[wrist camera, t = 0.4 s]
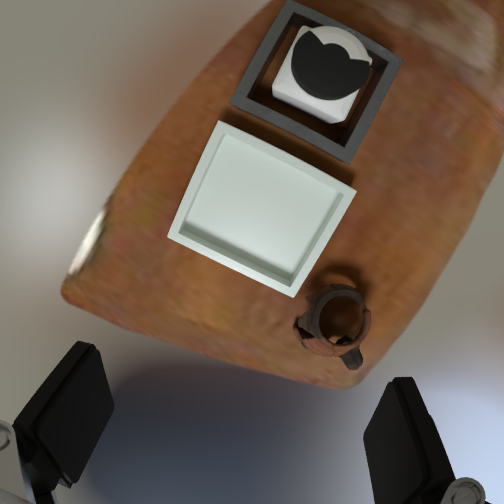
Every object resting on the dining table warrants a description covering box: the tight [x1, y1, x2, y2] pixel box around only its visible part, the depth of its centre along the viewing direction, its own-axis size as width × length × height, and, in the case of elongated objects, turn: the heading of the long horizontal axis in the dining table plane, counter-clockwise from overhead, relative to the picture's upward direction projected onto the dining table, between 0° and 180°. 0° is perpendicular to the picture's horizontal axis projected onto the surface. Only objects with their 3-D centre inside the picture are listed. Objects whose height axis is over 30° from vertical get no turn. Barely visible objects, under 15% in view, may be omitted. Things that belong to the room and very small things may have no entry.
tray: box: [167, 121, 357, 298], centre depth 35 cm, size 14×16×3 cm
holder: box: [229, 0, 403, 164], centre depth 29 cm, size 13×13×4 cm
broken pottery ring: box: [293, 284, 371, 370], centre depth 38 cm, size 12×10×8 cm
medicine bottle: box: [272, 26, 372, 124], centre depth 25 cm, size 7×7×12 cm
